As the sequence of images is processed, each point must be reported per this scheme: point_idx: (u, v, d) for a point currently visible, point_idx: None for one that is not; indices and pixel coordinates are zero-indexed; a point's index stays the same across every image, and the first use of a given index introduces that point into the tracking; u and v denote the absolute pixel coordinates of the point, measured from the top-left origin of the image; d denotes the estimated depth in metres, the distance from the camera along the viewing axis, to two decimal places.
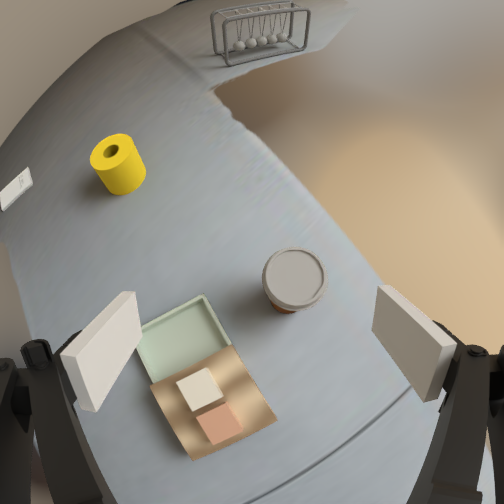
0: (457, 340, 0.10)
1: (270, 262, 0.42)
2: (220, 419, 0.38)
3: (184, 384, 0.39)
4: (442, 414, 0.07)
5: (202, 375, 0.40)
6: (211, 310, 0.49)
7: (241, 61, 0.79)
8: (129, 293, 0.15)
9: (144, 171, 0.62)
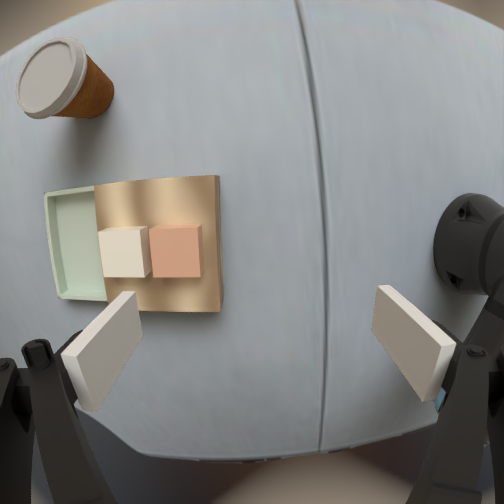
0: (456, 339, 0.10)
1: (18, 101, 0.20)
2: (167, 248, 0.29)
3: (109, 268, 0.29)
4: (441, 414, 0.07)
5: (105, 240, 0.29)
6: (61, 191, 0.32)
7: None
8: (130, 293, 0.15)
9: None
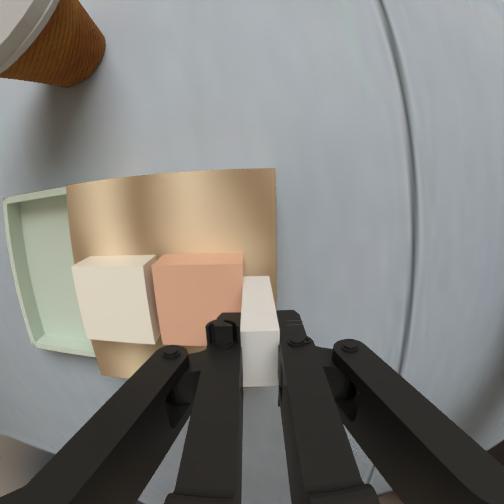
0: (302, 330, 0.12)
1: None
2: (187, 299, 0.16)
3: (94, 326, 0.17)
4: (283, 411, 0.09)
5: (84, 281, 0.16)
6: (24, 196, 0.19)
7: None
8: (252, 277, 0.17)
9: None
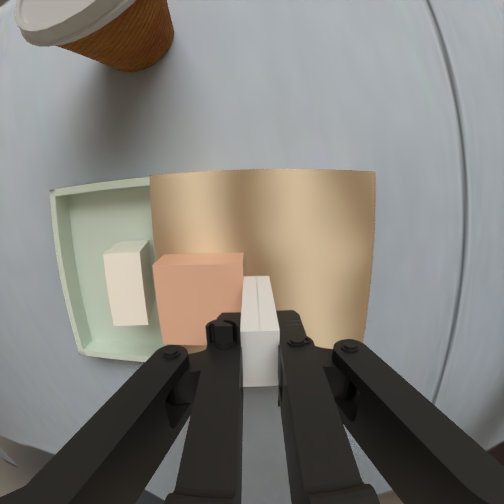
0: (302, 330, 0.12)
1: (17, 18, 0.08)
2: (187, 299, 0.16)
3: None
4: (283, 411, 0.09)
5: None
6: (80, 188, 0.20)
7: None
8: (252, 277, 0.17)
9: None
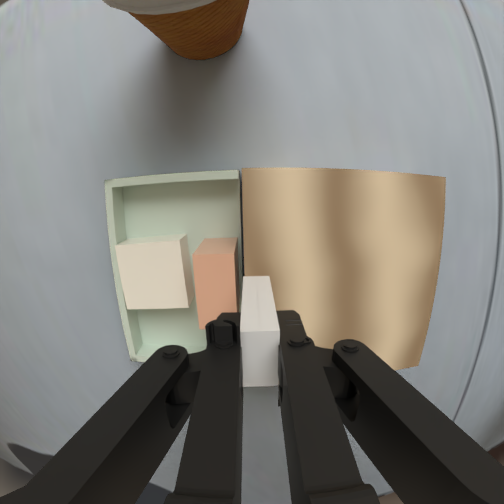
0: (302, 330, 0.12)
1: None
2: None
3: None
4: (283, 411, 0.09)
5: None
6: (145, 179, 0.19)
7: None
8: (252, 277, 0.17)
9: None
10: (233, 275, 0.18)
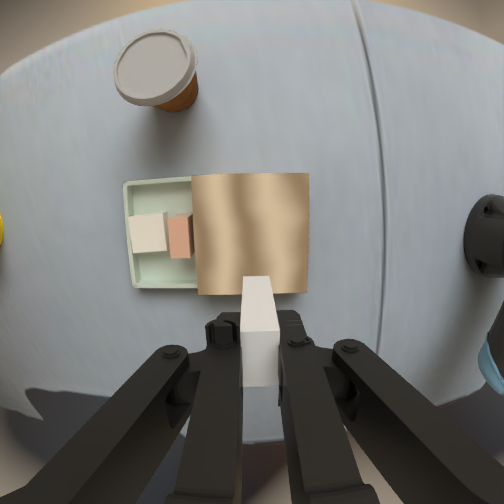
0: (302, 330, 0.12)
1: (119, 85, 0.25)
2: None
3: None
4: (283, 411, 0.09)
5: None
6: (145, 181, 0.37)
7: None
8: (252, 277, 0.17)
9: None
10: (187, 228, 0.35)
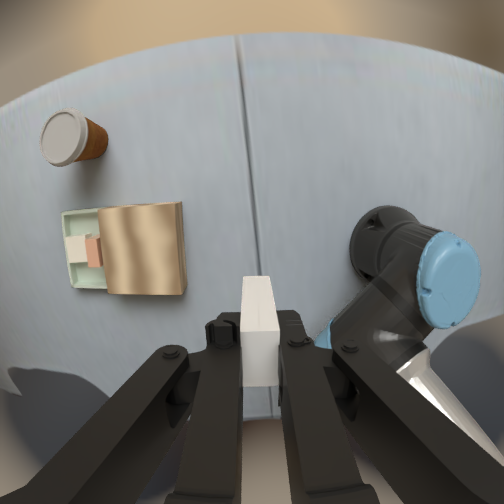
0: (302, 330, 0.12)
1: (42, 153, 0.36)
2: None
3: None
4: (283, 411, 0.09)
5: None
6: (74, 212, 0.48)
7: None
8: (252, 277, 0.17)
9: None
10: (96, 246, 0.46)
